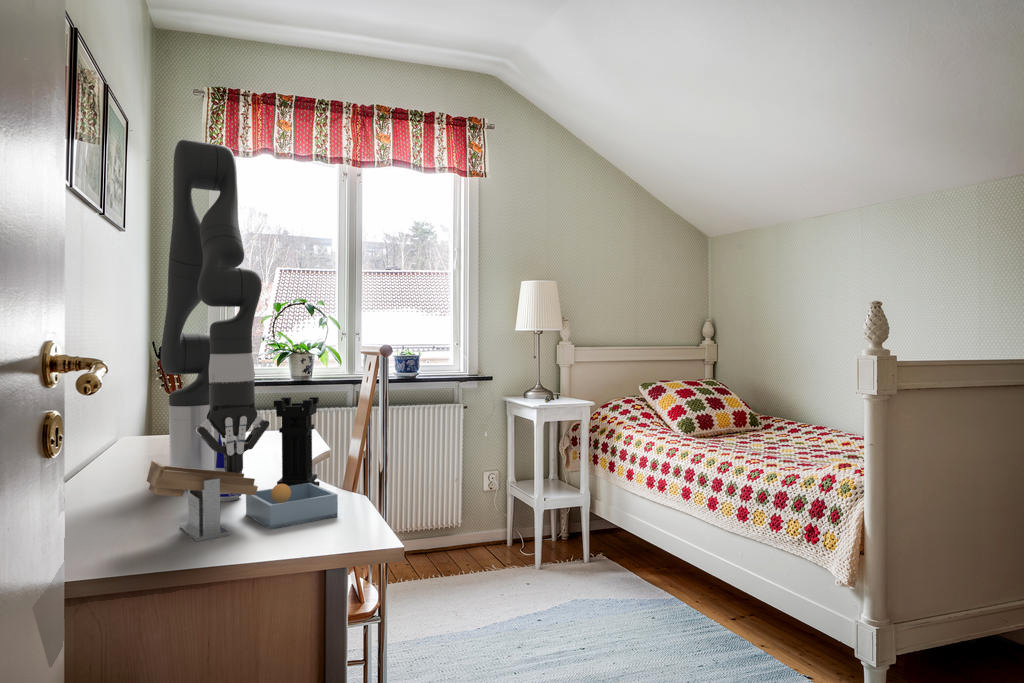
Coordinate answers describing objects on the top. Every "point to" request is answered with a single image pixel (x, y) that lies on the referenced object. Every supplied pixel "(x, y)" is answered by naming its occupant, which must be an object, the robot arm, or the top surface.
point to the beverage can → (222, 469)
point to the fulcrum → (205, 512)
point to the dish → (292, 506)
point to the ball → (281, 493)
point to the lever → (195, 480)
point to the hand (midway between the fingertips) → (233, 474)
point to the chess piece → (296, 440)
